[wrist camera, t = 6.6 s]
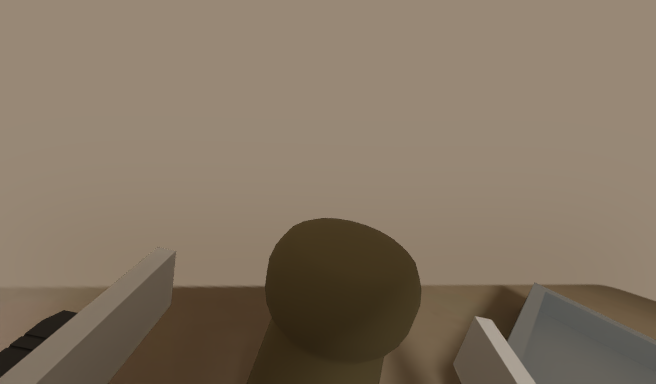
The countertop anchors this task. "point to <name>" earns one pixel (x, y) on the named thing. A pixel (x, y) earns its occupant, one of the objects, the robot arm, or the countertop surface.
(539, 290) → the tray
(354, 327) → the cork
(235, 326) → the countertop surface
